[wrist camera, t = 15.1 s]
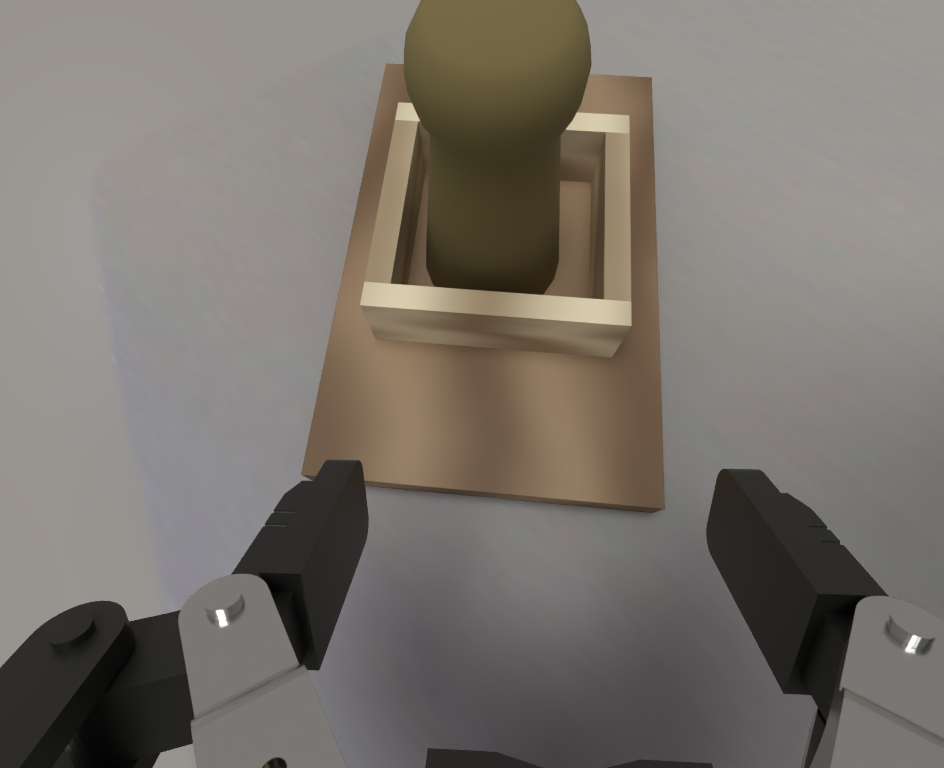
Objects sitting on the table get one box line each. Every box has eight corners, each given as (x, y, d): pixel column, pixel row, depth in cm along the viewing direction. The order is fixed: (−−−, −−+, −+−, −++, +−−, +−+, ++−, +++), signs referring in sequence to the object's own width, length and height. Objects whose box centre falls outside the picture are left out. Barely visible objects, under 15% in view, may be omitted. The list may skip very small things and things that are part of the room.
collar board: (643, 102, 28) (671, 19, 24) (652, 512, 21) (696, 499, 16) (390, 88, 29) (375, 5, 24) (313, 480, 21) (271, 459, 17)
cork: (402, 234, 24) (338, -26, 13) (515, 181, 24) (538, -103, 14) (465, 338, 22) (448, 130, 11) (585, 276, 23) (670, 31, 12)
